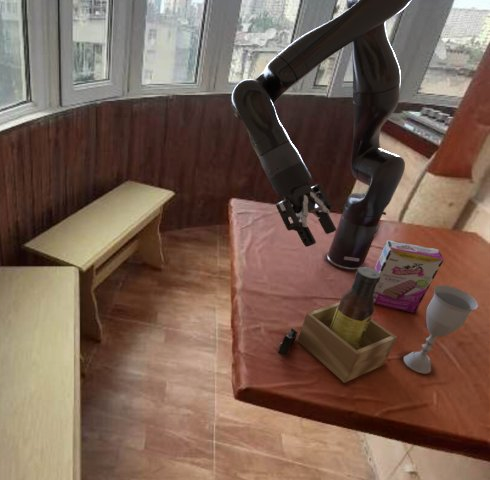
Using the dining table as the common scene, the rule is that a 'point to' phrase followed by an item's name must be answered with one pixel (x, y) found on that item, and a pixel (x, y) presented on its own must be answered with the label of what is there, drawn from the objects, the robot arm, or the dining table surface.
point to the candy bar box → (405, 275)
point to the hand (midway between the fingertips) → (321, 238)
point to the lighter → (287, 342)
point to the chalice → (441, 322)
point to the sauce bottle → (356, 308)
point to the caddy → (344, 345)
